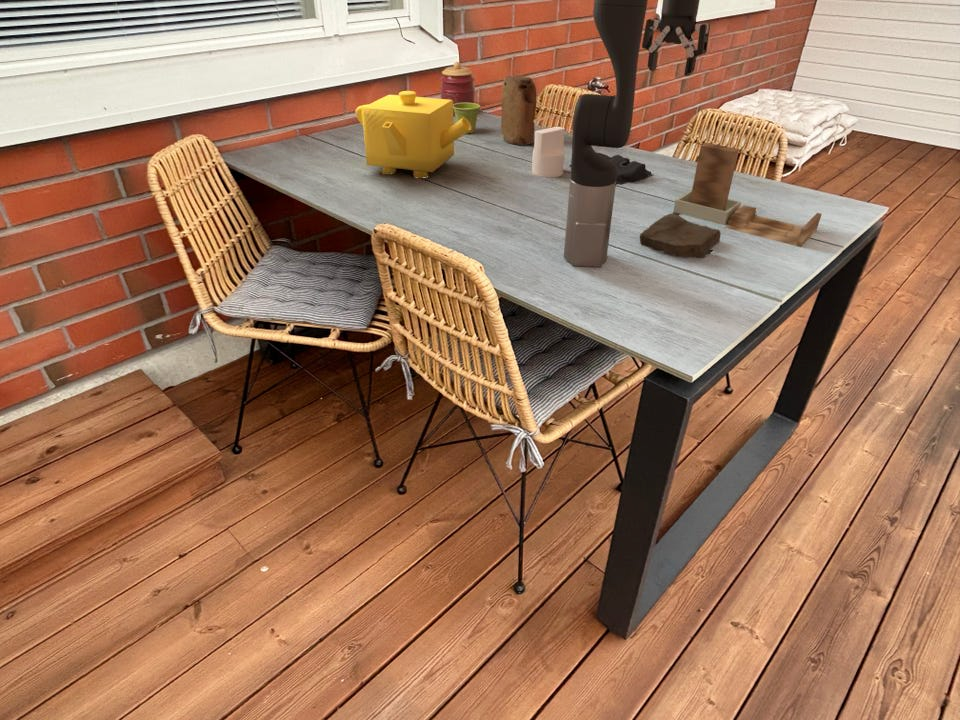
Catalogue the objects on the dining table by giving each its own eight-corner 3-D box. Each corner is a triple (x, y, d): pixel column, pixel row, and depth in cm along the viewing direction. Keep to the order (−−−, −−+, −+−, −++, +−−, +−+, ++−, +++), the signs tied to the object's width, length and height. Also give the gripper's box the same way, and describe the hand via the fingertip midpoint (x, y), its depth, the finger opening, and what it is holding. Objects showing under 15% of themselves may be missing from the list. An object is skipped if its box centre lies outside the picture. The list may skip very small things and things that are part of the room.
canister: (457, 118, 238) (457, 66, 228) (433, 112, 245) (431, 61, 235) (481, 112, 246) (482, 61, 236) (457, 106, 253) (457, 57, 243)
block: (498, 140, 214) (499, 75, 203) (514, 136, 218) (517, 72, 207) (521, 147, 207) (524, 81, 196) (537, 143, 211) (541, 78, 200)
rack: (723, 231, 152) (728, 211, 150) (741, 216, 160) (746, 196, 157) (799, 251, 143) (806, 229, 141) (815, 234, 151) (821, 213, 148)
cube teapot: (335, 179, 182) (325, 99, 170) (381, 149, 205) (375, 78, 193) (451, 193, 172) (449, 110, 160) (486, 161, 196) (487, 86, 184)
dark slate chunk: (602, 158, 200) (603, 143, 197) (656, 178, 185) (658, 161, 183) (564, 167, 193) (566, 151, 190) (618, 188, 178) (620, 171, 175)
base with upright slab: (545, 179, 182) (548, 136, 176) (525, 171, 188) (527, 128, 182) (569, 173, 187) (572, 131, 180) (548, 165, 193) (551, 124, 186)
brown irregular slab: (667, 226, 156) (670, 209, 153) (726, 243, 148) (730, 225, 145) (632, 247, 145) (634, 230, 143) (693, 267, 137) (697, 249, 135)
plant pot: (468, 126, 228) (468, 101, 223) (485, 132, 222) (485, 106, 217) (447, 131, 223) (446, 105, 218) (464, 137, 217) (464, 110, 212)
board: (688, 210, 160) (700, 145, 151) (693, 207, 162) (705, 142, 153) (719, 218, 156) (734, 152, 147) (724, 214, 158) (739, 149, 149)
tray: (672, 215, 160) (675, 200, 158) (687, 205, 166) (690, 190, 164) (723, 228, 154) (727, 212, 151) (737, 217, 159) (741, 201, 157)
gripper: (644, -11, 138) (633, 71, 147) (708, -7, 131) (692, 79, 140) (659, -13, 143) (648, 66, 152) (722, -9, 135) (706, 74, 145)
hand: (669, 72), depth 146 cm, fingers open, 8 cm apart
